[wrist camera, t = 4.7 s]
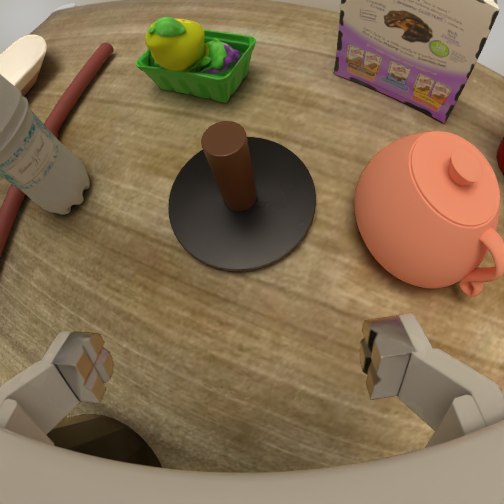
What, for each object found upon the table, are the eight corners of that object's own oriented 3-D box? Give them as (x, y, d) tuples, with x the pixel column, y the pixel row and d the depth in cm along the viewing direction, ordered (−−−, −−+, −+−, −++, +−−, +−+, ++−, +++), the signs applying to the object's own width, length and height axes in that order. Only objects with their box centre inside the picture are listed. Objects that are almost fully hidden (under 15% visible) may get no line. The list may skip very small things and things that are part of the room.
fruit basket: (262, 70, 32) (253, -12, 22) (226, 123, 30) (202, 34, 20) (181, 56, 35) (157, -14, 24) (141, 102, 33) (102, 31, 22)
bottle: (67, 233, 29) (-81, 125, 10) (39, 203, 30) (-83, 104, 11) (107, 181, 30) (-14, 41, 11) (75, 157, 31) (-29, 38, 12)
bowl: (-34, 120, 40) (-48, 107, 35) (38, 45, 44) (27, 28, 39) (-22, 167, 35) (-43, 151, 30) (72, 67, 38) (57, 45, 33)
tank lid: (175, 283, 26) (125, 248, 17) (172, 157, 30) (137, 93, 21) (327, 261, 25) (349, 214, 17) (299, 136, 29) (301, 63, 20)
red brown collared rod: (103, 55, 37) (96, 41, 34) (119, 53, 37) (112, 38, 34) (-29, 353, 26) (-48, 351, 23) (-17, 365, 25) (-36, 363, 22)
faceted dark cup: (73, 511, 20) (2, 548, 9) (50, 409, 23) (-40, 418, 12) (178, 530, 19) (126, 601, 8) (154, 417, 23) (73, 450, 12)
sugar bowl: (422, 148, 28) (460, 78, 18) (499, 267, 23) (568, 229, 14) (322, 195, 27) (338, 117, 17) (406, 340, 23) (474, 330, 13)
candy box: (450, 96, 30) (497, -8, 14) (443, 126, 28) (502, 10, 13) (347, 50, 33) (360, -63, 17) (331, 74, 31) (342, -53, 16)
